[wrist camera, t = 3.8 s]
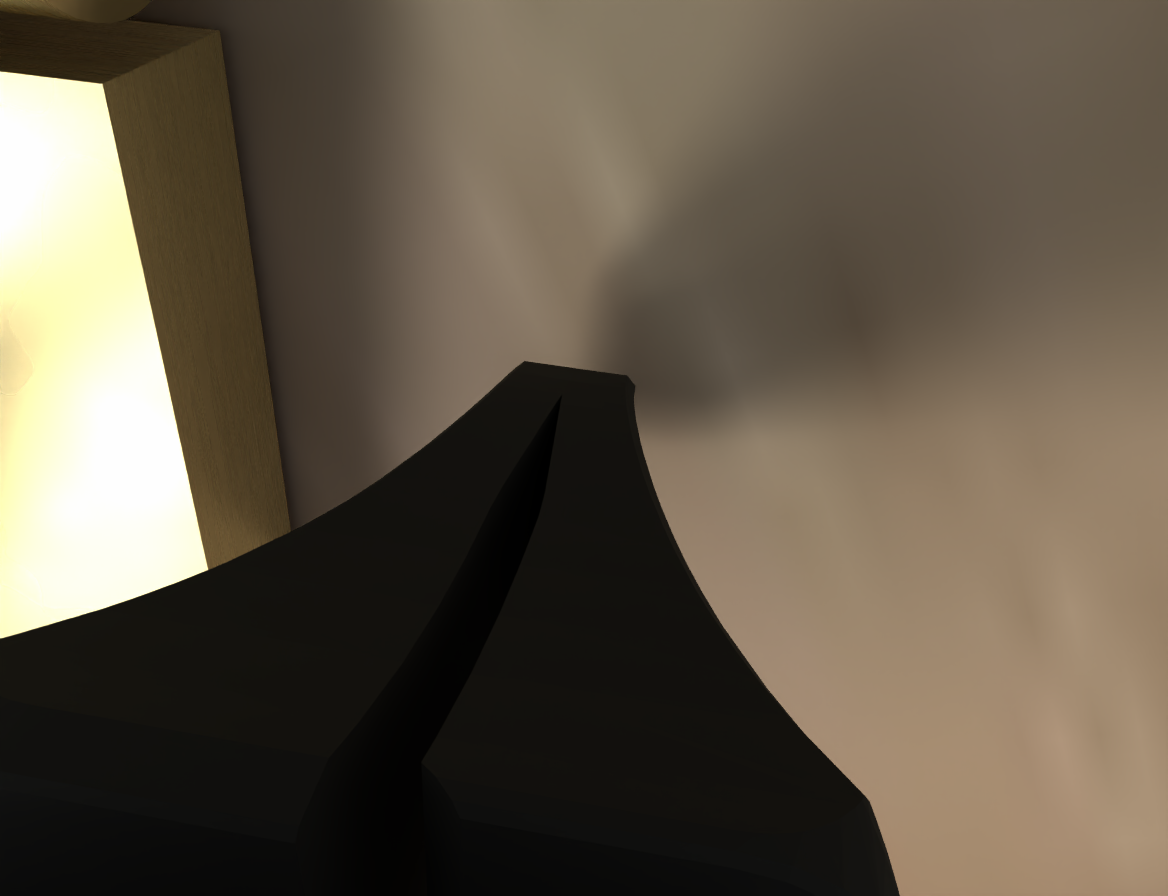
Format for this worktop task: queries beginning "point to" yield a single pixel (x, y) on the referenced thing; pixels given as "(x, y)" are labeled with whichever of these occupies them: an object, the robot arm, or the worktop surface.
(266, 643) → the robot arm
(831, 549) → the worktop surface
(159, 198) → the brass plate
